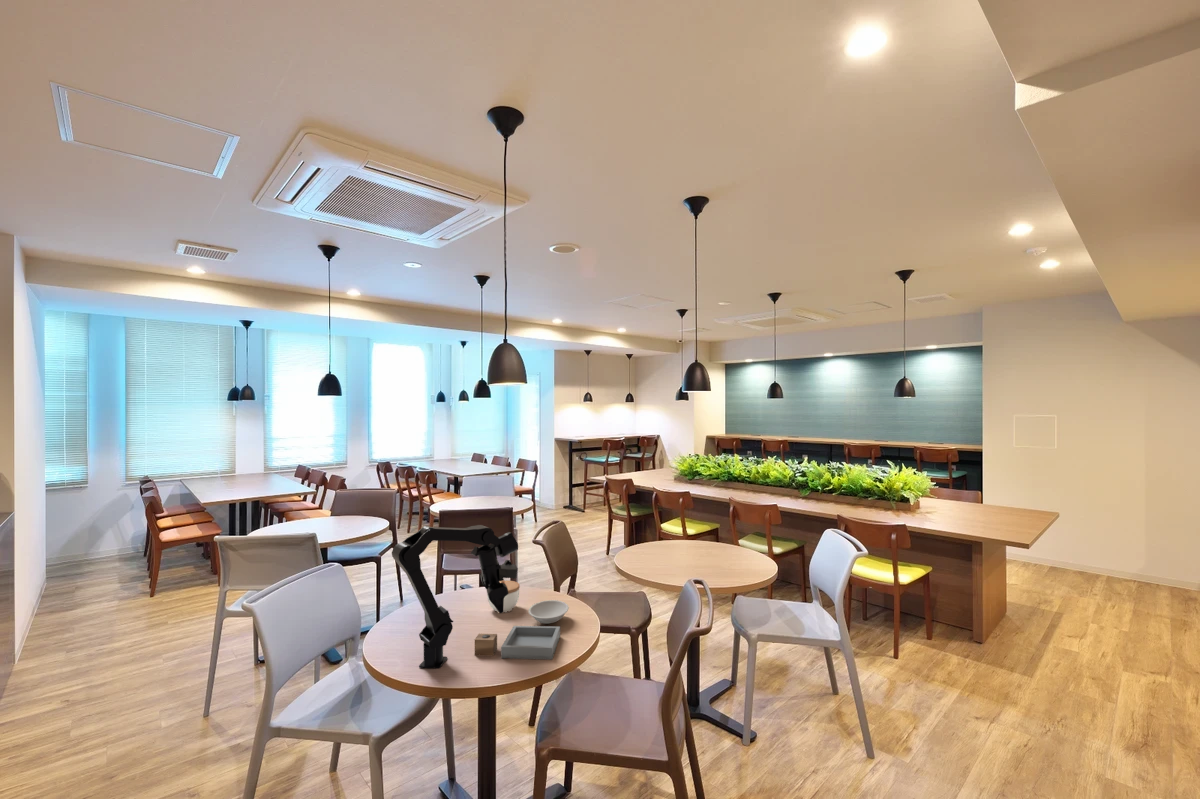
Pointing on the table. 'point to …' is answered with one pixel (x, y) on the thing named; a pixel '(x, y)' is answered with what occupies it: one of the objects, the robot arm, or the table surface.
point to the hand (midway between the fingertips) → (499, 606)
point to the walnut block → (486, 644)
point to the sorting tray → (531, 642)
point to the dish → (548, 611)
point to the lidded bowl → (509, 596)
